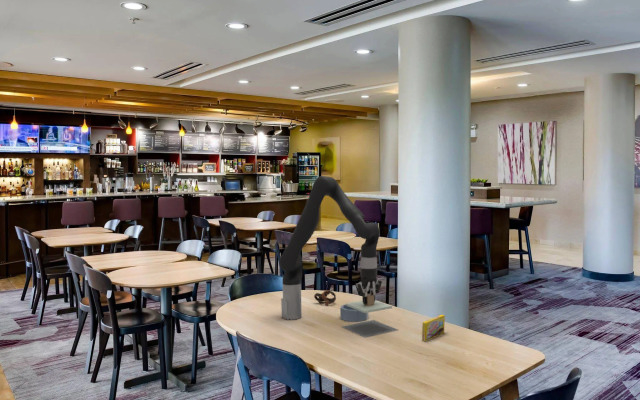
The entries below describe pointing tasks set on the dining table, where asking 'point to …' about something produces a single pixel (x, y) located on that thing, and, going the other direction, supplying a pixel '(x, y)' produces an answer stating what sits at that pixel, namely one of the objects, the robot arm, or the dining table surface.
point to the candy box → (433, 327)
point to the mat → (369, 328)
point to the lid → (369, 305)
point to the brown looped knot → (325, 297)
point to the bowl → (352, 314)
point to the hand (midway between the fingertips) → (368, 303)
